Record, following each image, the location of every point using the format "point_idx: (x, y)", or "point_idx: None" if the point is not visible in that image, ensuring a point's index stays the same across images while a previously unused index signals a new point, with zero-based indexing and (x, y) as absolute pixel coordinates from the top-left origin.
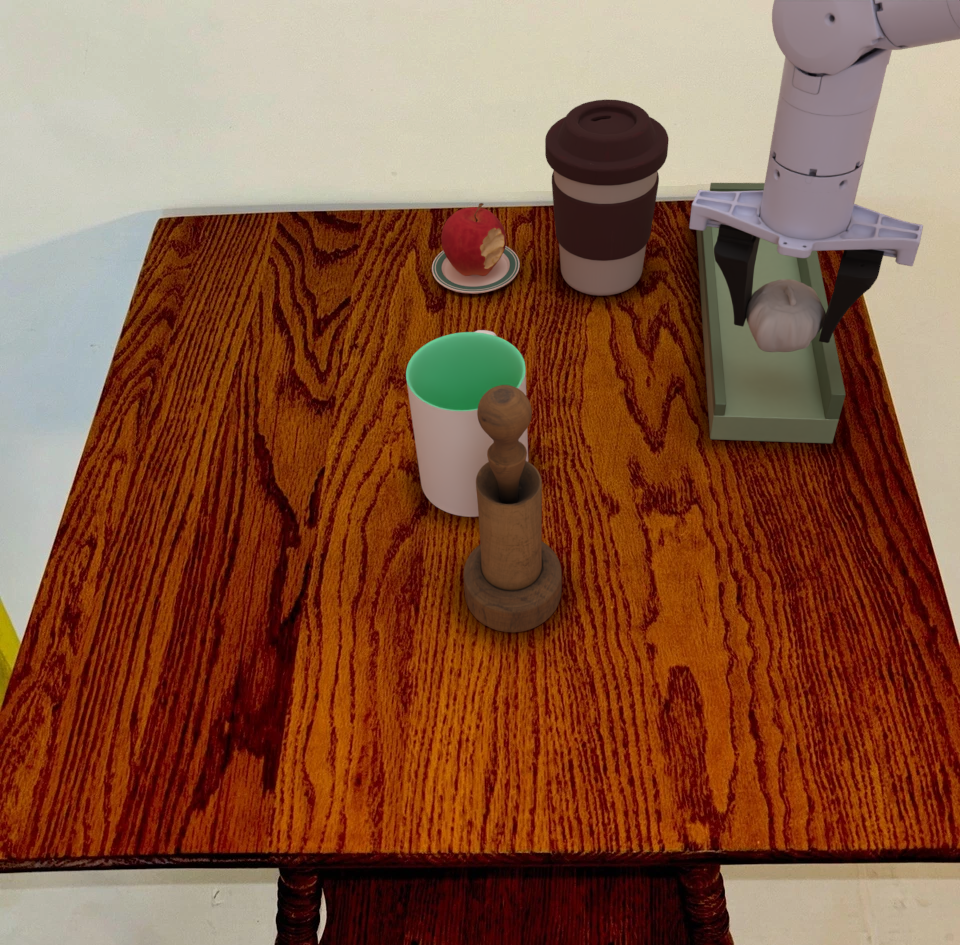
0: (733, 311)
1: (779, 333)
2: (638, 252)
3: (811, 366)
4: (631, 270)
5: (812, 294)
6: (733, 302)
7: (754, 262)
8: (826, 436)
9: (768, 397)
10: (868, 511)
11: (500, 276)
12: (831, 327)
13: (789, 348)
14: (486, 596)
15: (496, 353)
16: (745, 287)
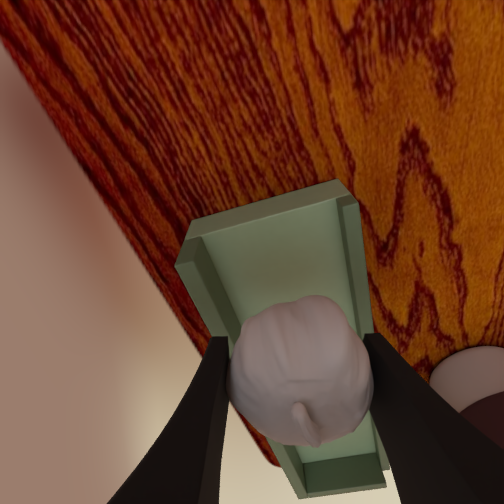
0: (402, 357)
1: (303, 330)
2: (461, 406)
3: (240, 311)
4: (456, 382)
5: (260, 429)
6: (419, 377)
7: (401, 481)
8: (198, 223)
9: (280, 250)
10: (110, 116)
11: None
12: (205, 367)
13: (274, 307)
14: None
15: None
16: (428, 427)
